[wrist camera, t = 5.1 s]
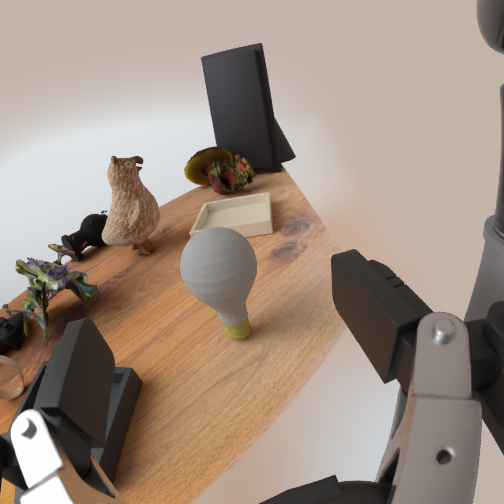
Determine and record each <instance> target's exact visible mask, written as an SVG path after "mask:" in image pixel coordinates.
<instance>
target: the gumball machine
mask: <svg viewBox="0 0 504 504" xmlns="http://www.w3.org/2000/svg"><path fill="white" fill-rule="evenodd" d="M105 212H107V211H105ZM101 213H104V211H102V212H101ZM107 218H108V216H107V215H105V214H101V215H99V214H91V215H89V216H87V217H86V218H85V219H84V220H83V222H82V223H81V227H80V230H79V231H77V232H75V233H73V234H71V235H69V236H67V235H64V236H62V238H61V240H62V243H63V246H64V247H65V248H67V249H69V250H71V251H72V252H75V255H74V256H70V257H71V258H72V259H73V260H72V261H71V262H73V261H74V260H75V261H79V260H80V259H82V257H84V253H83V254H82V253H81V252H82V251H83V250H84V249H85V248H86V247H87V246H100V245H102V244H104V243H105V242H104V241H103V239H102V233H103V230H104V228H105V225H106V221H107Z"/></svg>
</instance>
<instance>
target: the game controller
mask: <svg viewBox="0 0 504 504" xmlns="http://www.w3.org/2000/svg"><path fill="white" fill-rule="evenodd" d="M23 331H24V317H23V313H22V312H19V313H17V314H15V315H13V316H11V317H10V318H8V319H6V318H4V317H1V318H0V353H1V352H2V351H4V350H5V349H6V344H7V345H11V346H12V347H14V348H15V349H16V351H17V350H18V349H19V347H20V343H21V336H22V334H23Z"/></svg>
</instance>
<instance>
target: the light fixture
mask: <svg viewBox="0 0 504 504" xmlns="http://www.w3.org/2000/svg"><path fill="white" fill-rule="evenodd" d="M201 60H202V65H203V71H204V77H205V83H206V89H207V94H208V100H209V106H210V111H211V117H212V122H213V128H214V133H215V139H216V144H217V147H220V148H223V149H225V150H227V151H228V152H230V153H231V155H232V158H233V163H235V161H236V160H235V158H234V156H235V155H238V153H241V154H240V158H241V159H242V158H243V157H244V158H245V159H248V162H249V163H250V165H251V166H252V168H253V170H254V173H265V172H281V171H282V169H281V163H283V162H286V161H290V160H292V159H294V158H295V157H296V156H295V154H294V152H293V150H292V148H291V146H290V145H289V143H288V141H287V139H286V137H285V135H284V134H283V132H282V130H281V128H280V126H279V125H278V123H277V121H276V119H275V117H274V112H273V106H272V99H271V93H270V87H269V81H268V75H267V69H266V63H265V57H264V51H263V46H262V43H258V44H253V45H248V46H244V47H239V48H235V49H230V50H226V51H222V52H218V53H214V54H211V55H207V56H204V57H201Z"/></svg>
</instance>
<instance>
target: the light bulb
mask: <svg viewBox="0 0 504 504" xmlns="http://www.w3.org/2000/svg"><path fill="white" fill-rule="evenodd" d="M180 271H181V275H182V278H183V281H184V283H185V285H186V287H187V288H188V289H189V291H190V292H191V293H192V294H193V295H194V296H195V297H196V298H198V299H199V300H200V301H202V302H203V303H205V304H207V305H208V306H210V307H211V308H213V309H214V310H216V311H217V313H218V315H219V318H220V321H221V322H222V323H223V325H224V327H225V330H226V333H227V335H228V336H229V337H230V338H232V339H235V340H240V339H244V338H246V337H247V336H248V335H249V334H250V331H251V327H250V323H249V320H248V317H247V315H248V312H247V309H246V303H245V302H246V299H247V297H248V294H249V292H250V290H251V288H252V286H253V283H254V280H255V277H256V273H257V261H256V257H255V253H254V250H253V248H252V246H251V245H250V243H249V242H248V241H247V240H246V238H245V237H244V236H243V235H241V234H240V233H238V232H236V231H235V230H232V229H229V228H224V227H213V228H208V229H205V230H203V231H201V232H199V233H197V234H196V235H194V236H193V237H192V238H191V239H190V240H189V241H188V243H187V244H186V246H185V248H184V250H183V252H182V255H181V261H180Z"/></svg>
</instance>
